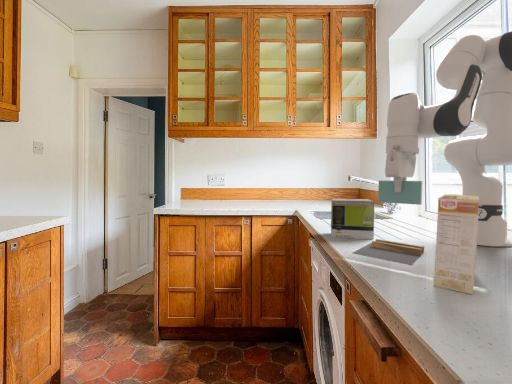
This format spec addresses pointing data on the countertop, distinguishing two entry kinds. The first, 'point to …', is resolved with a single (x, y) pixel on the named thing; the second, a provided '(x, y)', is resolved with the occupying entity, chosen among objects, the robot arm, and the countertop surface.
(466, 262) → the coffeecake box
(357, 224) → the tea box
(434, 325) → the countertop surface
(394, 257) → the mat
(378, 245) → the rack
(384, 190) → the tile
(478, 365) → the countertop surface
